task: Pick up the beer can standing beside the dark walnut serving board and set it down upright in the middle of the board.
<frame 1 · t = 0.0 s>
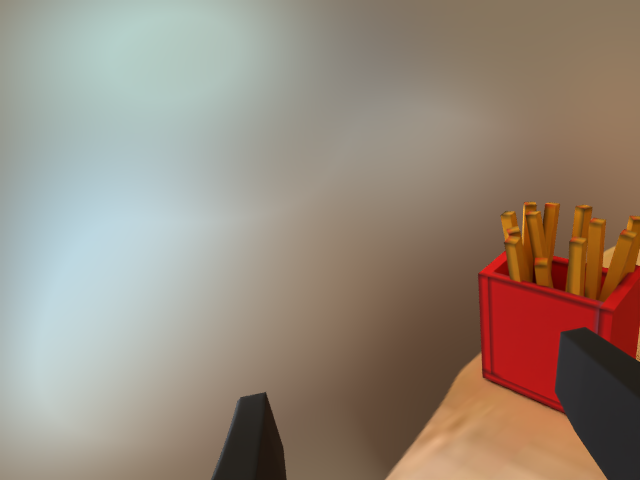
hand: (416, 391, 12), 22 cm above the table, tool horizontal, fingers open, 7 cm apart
french fries container: (555, 381, 41), on the table
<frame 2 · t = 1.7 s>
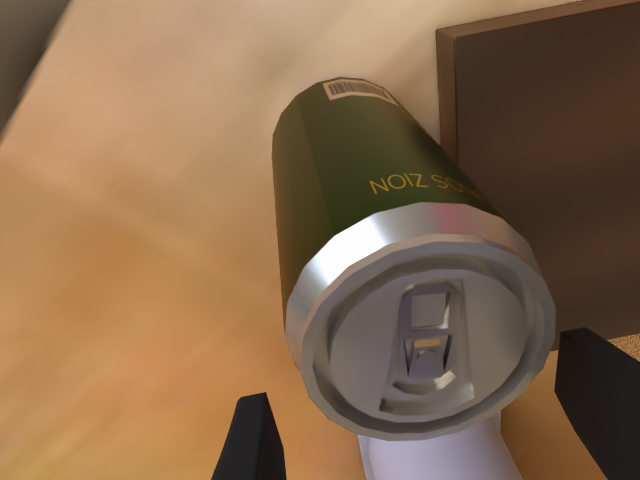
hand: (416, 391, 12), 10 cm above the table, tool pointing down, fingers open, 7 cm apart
beer can: (339, 141, 20), on the table
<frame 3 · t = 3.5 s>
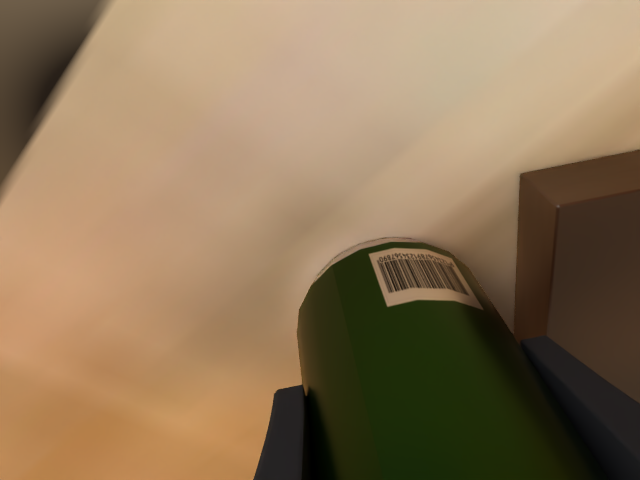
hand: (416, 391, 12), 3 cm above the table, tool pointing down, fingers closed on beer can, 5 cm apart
beer can: (382, 302, 15), on the table, touching gripper
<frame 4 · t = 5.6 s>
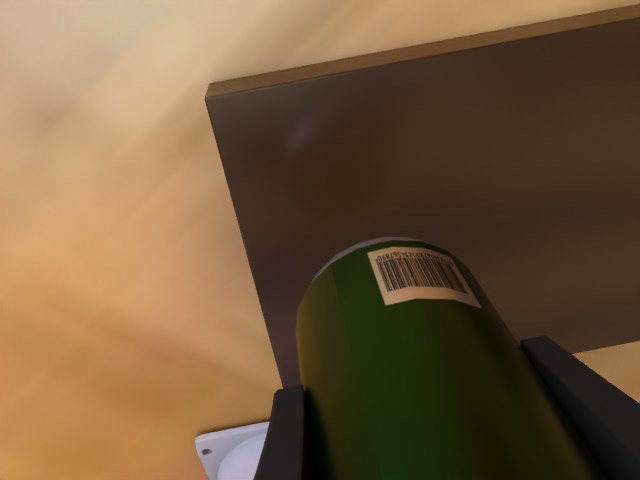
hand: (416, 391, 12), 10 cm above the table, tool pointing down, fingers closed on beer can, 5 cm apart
beer can: (381, 301, 15), point 7 cm above the table, touching gripper
walnut board: (490, 211, 22), on the table
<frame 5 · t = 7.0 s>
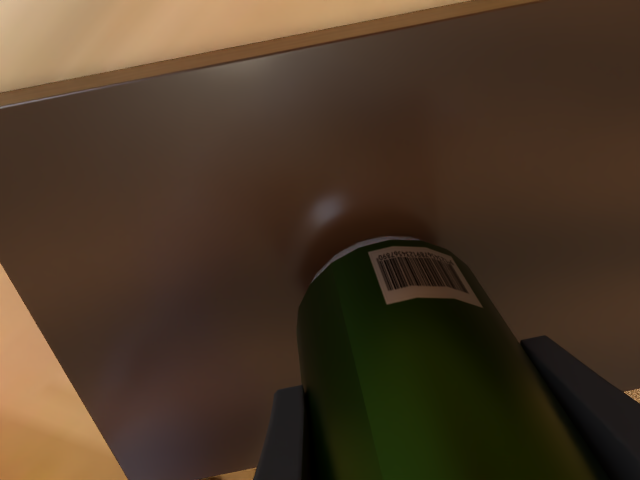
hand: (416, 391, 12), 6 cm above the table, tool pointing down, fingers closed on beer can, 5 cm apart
beer can: (382, 300, 15), point 3 cm above the table, touching gripper
walnut board: (366, 253, 18), on the table
when the fingers open (5 cm above the table, at t = 7.9 s): beer can stays where it is, resting on walnut board.
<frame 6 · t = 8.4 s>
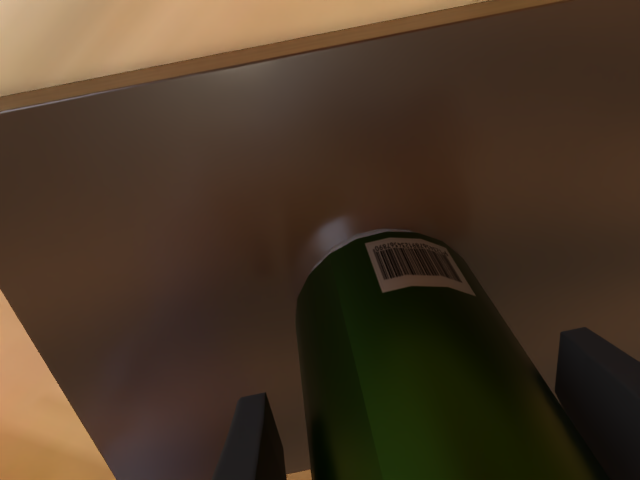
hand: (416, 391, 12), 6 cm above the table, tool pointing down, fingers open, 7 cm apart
beer can: (379, 292, 16), point 2 cm above the table, touching walnut board
walnut board: (369, 262, 17), on the table
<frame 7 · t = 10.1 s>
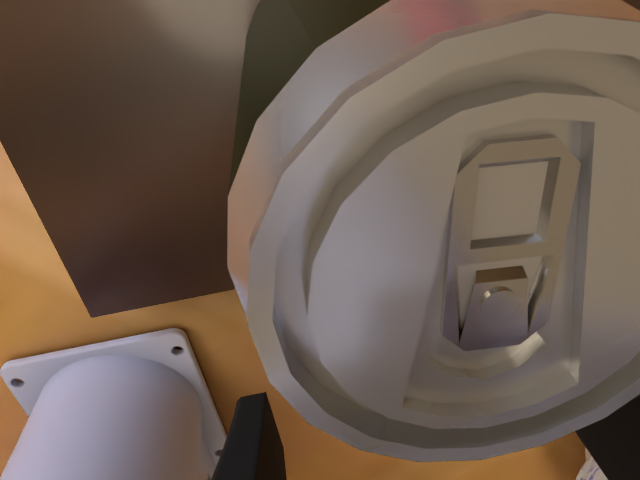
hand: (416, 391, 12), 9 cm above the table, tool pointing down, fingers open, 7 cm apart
beer can: (335, 54, 15), point 2 cm above the table, touching walnut board
walnut board: (330, 45, 17), on the table
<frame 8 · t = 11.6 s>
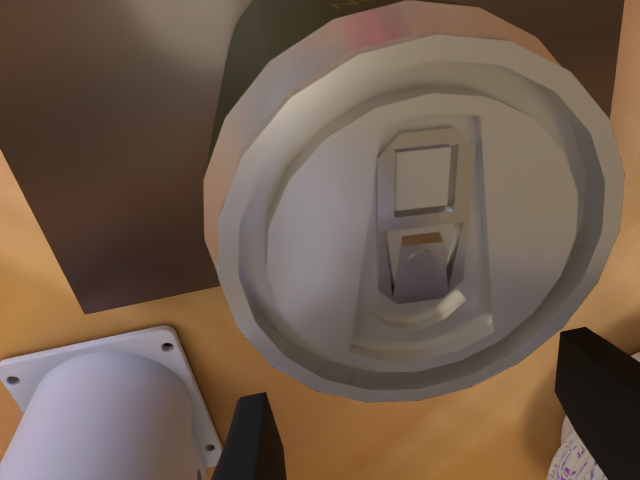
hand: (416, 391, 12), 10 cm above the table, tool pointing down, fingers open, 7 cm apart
beer can: (311, 64, 17), point 2 cm above the table, touching walnut board
walnut board: (307, 56, 18), on the table
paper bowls: (638, 400, 30), on the table
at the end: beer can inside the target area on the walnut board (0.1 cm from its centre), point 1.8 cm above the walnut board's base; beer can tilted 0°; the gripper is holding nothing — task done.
